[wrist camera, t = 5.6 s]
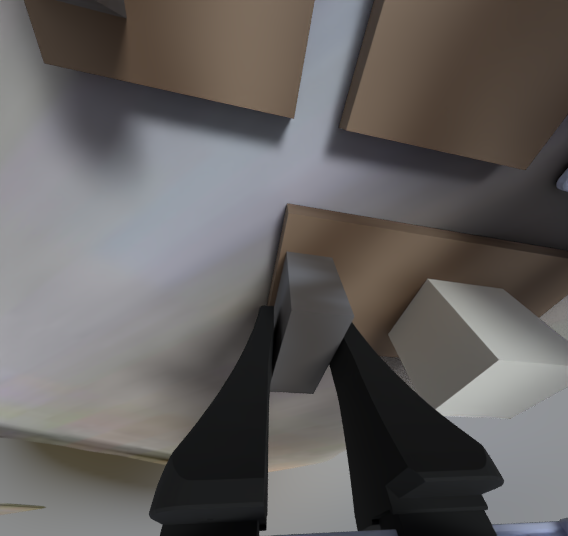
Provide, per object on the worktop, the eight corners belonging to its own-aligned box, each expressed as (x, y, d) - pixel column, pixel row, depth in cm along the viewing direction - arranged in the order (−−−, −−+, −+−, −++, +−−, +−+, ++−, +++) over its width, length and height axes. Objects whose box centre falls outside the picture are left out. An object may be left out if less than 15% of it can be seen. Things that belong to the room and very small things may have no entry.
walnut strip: (581, 253, 14) (718, 320, 9) (471, 351, 19) (526, 419, 15) (287, 203, 11) (295, 263, 7) (261, 332, 17) (257, 408, 13)
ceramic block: (502, 288, 13) (601, 368, 9) (451, 340, 16) (510, 418, 12) (427, 278, 13) (498, 359, 9) (388, 334, 16) (427, 415, 12)
